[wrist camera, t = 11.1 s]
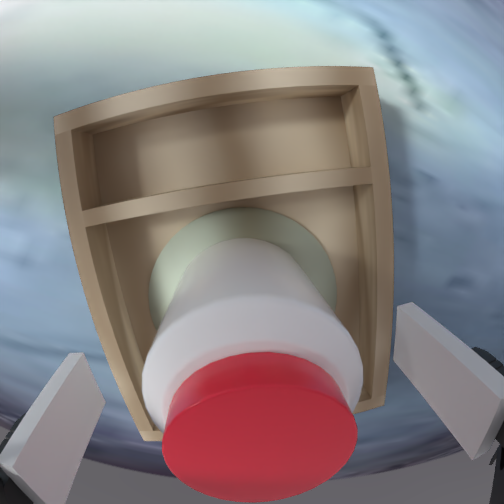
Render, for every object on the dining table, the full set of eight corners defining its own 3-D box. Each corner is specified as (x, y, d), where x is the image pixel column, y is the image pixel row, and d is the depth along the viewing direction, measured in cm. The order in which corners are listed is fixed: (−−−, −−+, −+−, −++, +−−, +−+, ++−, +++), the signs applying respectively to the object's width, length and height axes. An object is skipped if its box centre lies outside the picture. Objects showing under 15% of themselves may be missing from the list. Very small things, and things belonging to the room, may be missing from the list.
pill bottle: (219, 378, 19) (217, 530, 8) (150, 278, 17) (66, 408, 7) (329, 324, 19) (412, 458, 8) (273, 211, 17) (345, 278, 6)
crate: (153, 408, 21) (144, 440, 17) (82, 124, 16) (53, 116, 12) (366, 376, 21) (383, 405, 18) (348, 83, 16) (373, 67, 13)
